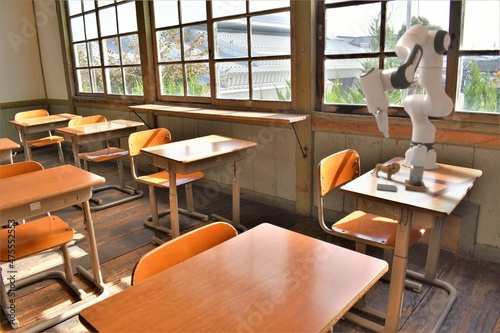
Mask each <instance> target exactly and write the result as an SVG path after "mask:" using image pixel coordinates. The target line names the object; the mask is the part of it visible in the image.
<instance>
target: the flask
mask: <svg viewBox="0 0 500 333" xmlns="http://www.w3.org/2000/svg"><path fill="white" fill-rule="evenodd" d="M424 171H425V170H424V167H417V166H412V165H411V168H410V169H409V177H408V180H409V185H412V186H422V181H424V180H423V179H424V173H425V172H424Z"/></svg>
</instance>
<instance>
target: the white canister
mask: <svg viewBox="0 0 500 333" xmlns="http://www.w3.org/2000/svg"><path fill="white" fill-rule="evenodd" d="M426 154H427V147H423V145H418V146H413V149H412V157H411V165H412V166H417V167H424V166H425V161H426Z"/></svg>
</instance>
